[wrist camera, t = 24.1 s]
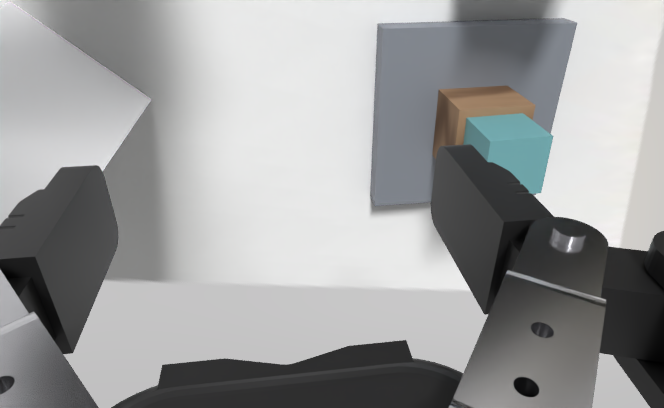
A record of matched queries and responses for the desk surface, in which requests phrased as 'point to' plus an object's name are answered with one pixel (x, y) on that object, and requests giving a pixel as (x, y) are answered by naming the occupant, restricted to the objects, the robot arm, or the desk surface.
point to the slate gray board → (448, 73)
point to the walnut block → (473, 110)
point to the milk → (54, 107)
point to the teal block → (512, 145)
